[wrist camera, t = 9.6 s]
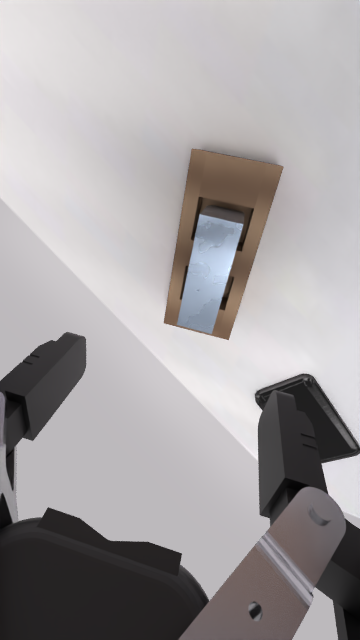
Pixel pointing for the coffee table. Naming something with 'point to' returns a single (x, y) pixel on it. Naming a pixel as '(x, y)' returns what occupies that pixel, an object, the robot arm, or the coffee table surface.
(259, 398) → the phone
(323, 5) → the coffee table surface
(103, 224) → the coffee table surface
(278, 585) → the robot arm
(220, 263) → the brushed steel block
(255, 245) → the two-pocket wooden block
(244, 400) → the coffee table surface
